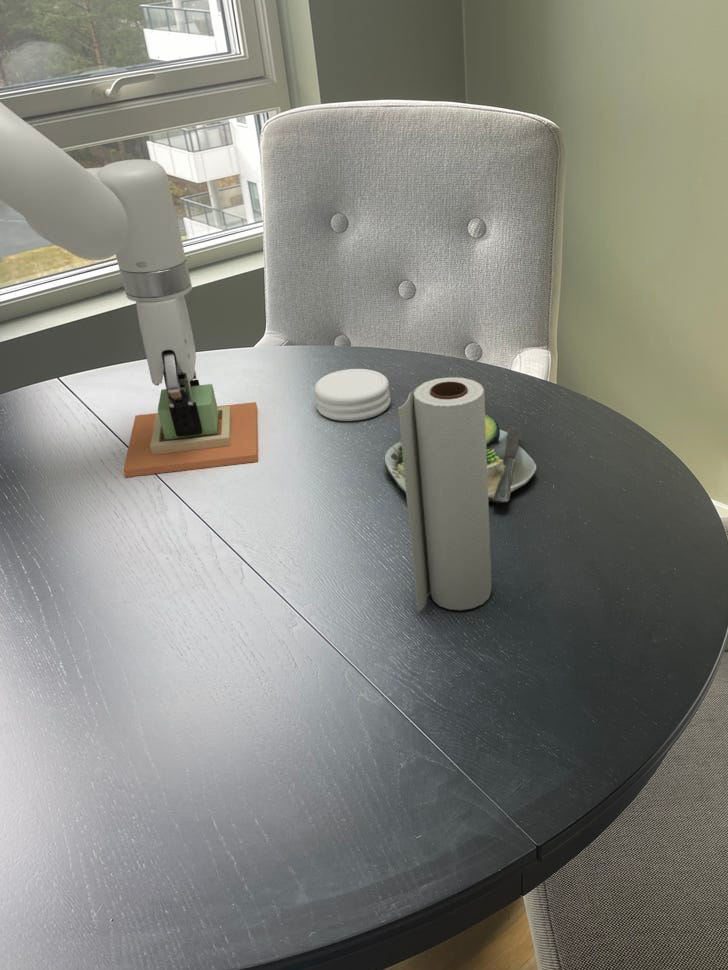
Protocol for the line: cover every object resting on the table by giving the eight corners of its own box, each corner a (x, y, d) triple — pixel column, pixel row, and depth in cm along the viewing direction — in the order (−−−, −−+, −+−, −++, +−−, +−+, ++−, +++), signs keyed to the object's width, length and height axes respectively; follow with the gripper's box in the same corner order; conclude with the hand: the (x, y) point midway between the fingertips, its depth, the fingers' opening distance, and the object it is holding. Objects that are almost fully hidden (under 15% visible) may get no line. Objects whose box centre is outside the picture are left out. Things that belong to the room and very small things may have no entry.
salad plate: (571, 500, 109) (572, 464, 106) (419, 533, 105) (416, 496, 102) (509, 431, 124) (509, 396, 121) (374, 457, 119) (370, 422, 116)
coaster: (311, 398, 134) (307, 374, 132) (381, 386, 136) (378, 362, 134) (324, 427, 126) (321, 402, 124) (398, 415, 129) (396, 390, 127)
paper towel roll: (490, 575, 98) (483, 373, 85) (492, 611, 93) (485, 401, 80) (419, 578, 98) (401, 376, 85) (417, 614, 93) (397, 405, 80)
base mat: (125, 477, 118) (120, 461, 116) (137, 422, 130) (132, 406, 129) (258, 461, 120) (254, 445, 118) (257, 408, 132) (254, 393, 131)
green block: (165, 440, 121) (157, 410, 118) (168, 418, 126) (161, 389, 123) (217, 433, 122) (210, 404, 119) (218, 412, 127) (212, 383, 124)
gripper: (130, 260, 119) (165, 398, 130) (115, 307, 105) (156, 456, 116) (192, 254, 119) (222, 392, 131) (185, 300, 106) (219, 449, 117)
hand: (190, 421), depth 123 cm, fingers closed on green block, 6 cm apart
